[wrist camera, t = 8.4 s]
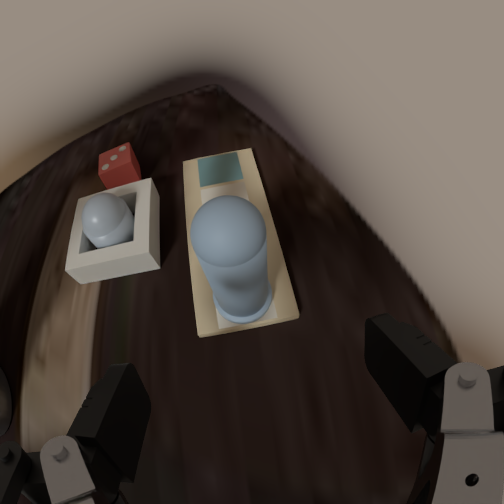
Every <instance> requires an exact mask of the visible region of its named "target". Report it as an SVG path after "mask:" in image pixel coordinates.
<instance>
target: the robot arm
mask: <svg viewBox="0 0 504 504" xmlns="http://www.w3.org/2000/svg"><path fill="white" fill-rule="evenodd" d="M364 356H365V363H366V366H367V369H368V371H369V372H370V374H371V375H372V377H373V378H374V380H375V381H376V382H377V384H378V385H379V387H380V388H381V390H382V391H383V392H384V394H385V395H386V397H387V398H388V400H389V401H390V402H391V404H392V405H393V407H394V408H395V410H396V411H397V413H398V414H399V416H400V417H401V418H402V420H403V421H404V423H405V424H406V426H407V427H408V429H409V430H410V432H411V433H414V432H416V431H418V430H420V429H422V428H424V429H425V431H426V432H427V434H426V437H425V441H424V446H423V451H422V455H421V460H420V464H419V468H418V472H417V476H416V480H415V483H414V486H413V489H412V491H411V494H410V496H409V498H408V501H407V503H406V504H501V502H502V495H503V483H504V366H501V367H497V368H494V369H490V370H486V369H484V368H483V367H482V366H480V365H478V364H475V363H471V362H463V363H458V364H457V363H456V362H455V361H454V360H453V359H452V358H451V357H450V356H448V355H447V354H446V353H445V352H444V351H443V350H442V349H441V348H439V347H438V346H437V345H436V344H435V343H434V342H431V340H430V339H429V338H428V337H427V336H424V334H423V333H422V332H421V331H420V330H419V329H417V328H416V327H415V326H412V325H410V324H407V323H404V322H401V323H399V322H398V321H397V320H395V319H394V318H393V317H392V316H391V315H390V314H388V313H384V314H381V315H377V316H374V317H371V318H368V319H366V322H365V353H364ZM150 413H151V402H150V398H149V396H148V394H147V392H146V390H145V388H144V385H143V383H142V381H141V379H140V377H139V375H138V373H137V371H136V369H135V367H134V365H133V364H131V363H124V364H112V365H110V366H109V368H108V370H107V372H106V374H105V375H104V377H103V379H100V380H99V381H98V382H97V383H96V384H95V385H94V386H92V387H91V389H90V391H89V393H88V395H87V396H86V399H85V400H84V402H83V404H82V408H80V410H79V411H78V413H77V415H76V417H75V419H74V421H73V423H72V425H71V427H70V429H69V431H68V433H67V435H66V436H58V437H55V438H52V439H51V440H49V441H48V442H47V443H46V444H45V445H44V446H43V448H42V450H41V452H32V453H26V452H25V451H24V450H23V449H22V448H21V446H20V445H19V444H18V443H16V442H14V441H7V442H4V443H2V444H1V445H0V504H17V502H18V499H19V496H20V494H21V493H22V494H23V495H24V496H26V497H27V498H28V499H29V500H30V501H31V504H129V503H128V502H127V500H126V498H125V497H124V495H123V493H122V492H121V491H120V490H119V485H120V482H126V483H134V479H135V474H136V470H137V465H138V461H139V457H140V452H141V448H142V444H143V440H144V436H145V432H146V428H147V424H148V421H149V417H150ZM11 414H12V400H11V393H10V388H9V384H8V381H7V378H6V376H5V374H4V372H3V370H2V369H1V367H0V436H1V435H3V434H4V433H5V432H6V431H7V429H8V427H9V425H10V421H11Z"/></svg>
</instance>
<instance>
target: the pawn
mask: <svg viewBox="0 0 504 504" xmlns="http://www.w3.org/2000/svg"><path fill="white" fill-rule="evenodd" d="M190 238H191V243H192V246H193V249H194V251H195V254H196V256H197V258H198V260H199V263H200V265H201V267H202V269H203V271H204V274H205V276H206V278H207V280H208V282H209V284H210V287H211V289H212V291H213V301H214V304H215V306H216V308H217V310H218V312H219V313H220V314H221V315H222V317H224V318H225V319H226V320H228V321H230V322H232V323H236V324H249V323H252V322H255V321H257V320H259V319H260V318H261V317H263V316H264V315H265V313H266V312H267V311H268V309H269V307H270V305H271V301H272V289H271V285H270V282H269V280H268V273H267V236H266V225H265V221H264V219H263V216H262V215H261V213H260V211H259V210H258V209H257V208H256V207H255V206H254V205H253V204H252V203H251V202H249V201H248V200H246V199H244V198H241V197H238V196H233V195H224V196H218V197H215V198H213V199H211V200H209V201H207V202H206V203H205V204H203V205H202V206H201V207H200V208H199V210H198V211H197V212H196V214H195V216H194V218H193V220H192V223H191V229H190Z"/></svg>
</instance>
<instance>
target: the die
mask: <svg viewBox="0 0 504 504" xmlns="http://www.w3.org/2000/svg"><path fill="white" fill-rule="evenodd" d="M98 175H99V177H100V179H101V180H102V182H103V184H104V185H105V187H106V189H107V190H108V189H112V188H115V187H119V186H122V185H126V184H129V183H133V182H137V181H140V180H142V179H141V172H140V165H139V163H138V161H137V159H136V156H135V154H134V152H133V150H132V147H131V145H130V143H129V142H128V143H125V144H123V145H121V146H118V147H116V148H114V149H111V150H109V151H107V152H104V153H102V154H100V155H99V173H98Z"/></svg>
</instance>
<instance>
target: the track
mask: <svg viewBox="0 0 504 504" xmlns="http://www.w3.org/2000/svg"><path fill="white" fill-rule="evenodd" d="M183 173H184V193H185V210H186V224H187V237H188V249H189V260H190V271H191V280H192V290H193V299H194V307H195V315H196V323H197V331H198V336H199V337H200V338H201V337H207V336H213V335H218V334H224V333H230V332H235V331H240V330H245V329H251V328H256V327H261V326H265V325H270V324H275V323H279V322H284V321H289V320H293V319H297V318H299V312H298V308H297V304H296V300H295V297H294V293H293V289H292V286H291V282H290V278H289V275H288V271H287V268H286V264H285V261H284V257H283V253H282V250H281V246H280V243H279V239H278V236H277V233H276V229H275V226H274V222H273V219H272V215H271V212H270V209H269V205H268V202H267V199H266V195H265V192H264V189H263V185H262V182H261V179H260V176H259V172H258V169H257V166H256V163H255V159H254V156H253V153H252V150H251V148H250V149H244V150H238V151H233V152H227V153H222V154H217V155H212V156H207V157H202V158H197V159H193V160H188V161H184V162H183ZM224 195H233V196H238V197H241V198H244V199H246V200H248V201H249V202H251V203H252V204H253V205H254V206H255V207H256V208H257V209H258V210H259V211H260V213H261V215H262V216H263V219H264V221H265V225H266V236H267V273H268V280H269V282H270V285H271V289H272V301H271V305H270V307H269V309H268V311H267V312H266V313H265V315H264V316H263V317H261V318H260V319H259V320H257V321H255V322H252V323H249V324H236V323H232V322H230V321H228V320H226V319H225V318H224V317H222V315H221V314H220V313H219V312H218V310H217V308H216V306H215V304H214V301H213V291H212V289H211V287H210V284H209V282H208V280H207V278H206V276H205V274H204V271H203V269H202V267H201V265H200V263H199V260H198V258H197V256H196V254H195V251H194V249H193V246H192V243H191V238H190V229H191V223H192V220H193V218H194V216H195V214H196V212H197V211H198V210H199V208H200V207H201V206H202V205H203V204H205V203H206V202H207V201H209V200H211V199H213V198H215V197H218V196H224Z"/></svg>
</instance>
